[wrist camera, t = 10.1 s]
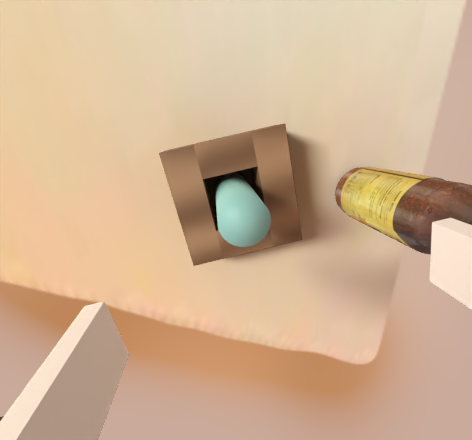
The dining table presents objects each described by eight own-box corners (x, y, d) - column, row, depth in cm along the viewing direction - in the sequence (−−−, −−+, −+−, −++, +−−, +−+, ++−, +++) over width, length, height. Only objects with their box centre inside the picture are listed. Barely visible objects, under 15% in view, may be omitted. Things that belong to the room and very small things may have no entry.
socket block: (167, 150, 28) (159, 153, 24) (272, 125, 29) (285, 123, 24) (196, 246, 32) (193, 265, 28) (288, 224, 33) (302, 239, 28)
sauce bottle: (335, 219, 33) (500, 331, 14) (330, 172, 31) (514, 227, 12) (384, 207, 33) (613, 301, 14) (382, 158, 31) (646, 194, 12)
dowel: (211, 177, 30) (211, 203, 19) (244, 169, 30) (265, 190, 19) (219, 209, 31) (224, 252, 20) (251, 202, 31) (274, 240, 20)
